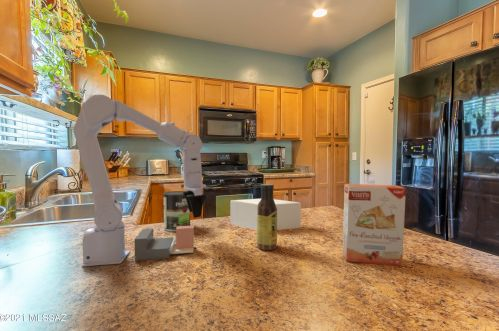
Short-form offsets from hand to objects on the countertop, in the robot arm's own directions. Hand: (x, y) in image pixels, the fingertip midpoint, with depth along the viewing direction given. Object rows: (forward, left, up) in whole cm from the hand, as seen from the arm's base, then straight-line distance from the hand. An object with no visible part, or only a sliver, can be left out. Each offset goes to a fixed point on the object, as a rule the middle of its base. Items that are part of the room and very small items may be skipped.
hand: (194, 214), depth 76 cm
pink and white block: (-8, -5, -9) cm, 13 cm away
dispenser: (-11, -5, -10) cm, 16 cm away
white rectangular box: (+27, +15, -10) cm, 33 cm away
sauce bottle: (+22, -7, -10) cm, 25 cm away
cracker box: (+48, -21, -10) cm, 54 cm away
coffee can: (-8, +19, -10) cm, 23 cm away
